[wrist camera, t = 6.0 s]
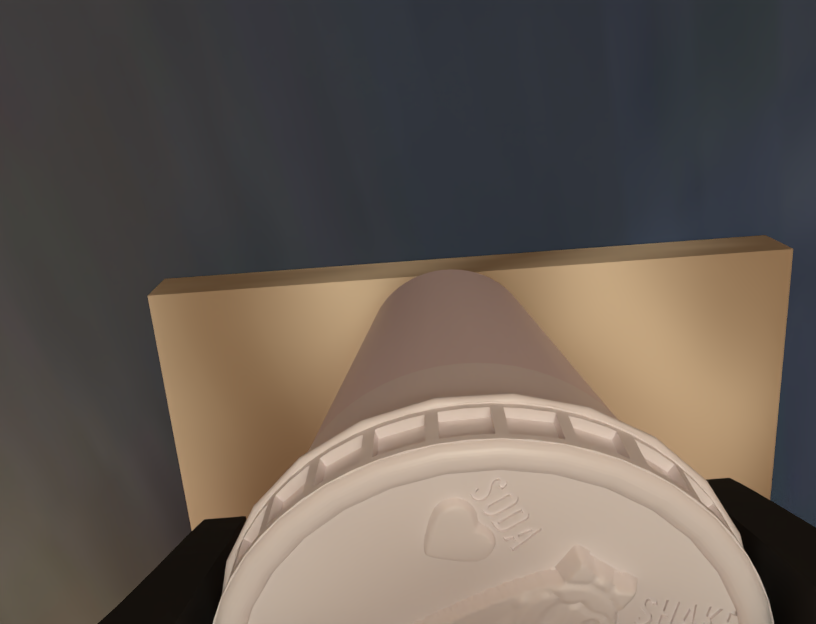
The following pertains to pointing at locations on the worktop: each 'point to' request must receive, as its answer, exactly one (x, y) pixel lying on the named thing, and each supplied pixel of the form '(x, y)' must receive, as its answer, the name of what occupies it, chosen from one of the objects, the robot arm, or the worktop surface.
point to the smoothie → (483, 491)
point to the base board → (543, 300)
